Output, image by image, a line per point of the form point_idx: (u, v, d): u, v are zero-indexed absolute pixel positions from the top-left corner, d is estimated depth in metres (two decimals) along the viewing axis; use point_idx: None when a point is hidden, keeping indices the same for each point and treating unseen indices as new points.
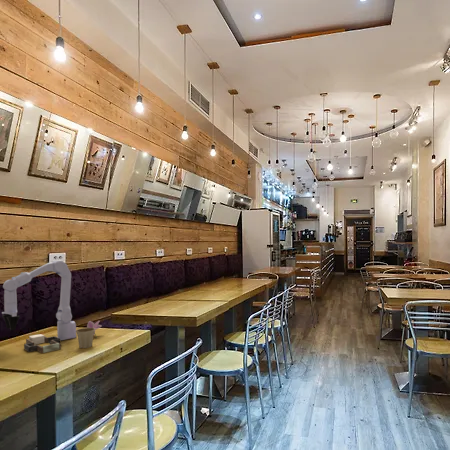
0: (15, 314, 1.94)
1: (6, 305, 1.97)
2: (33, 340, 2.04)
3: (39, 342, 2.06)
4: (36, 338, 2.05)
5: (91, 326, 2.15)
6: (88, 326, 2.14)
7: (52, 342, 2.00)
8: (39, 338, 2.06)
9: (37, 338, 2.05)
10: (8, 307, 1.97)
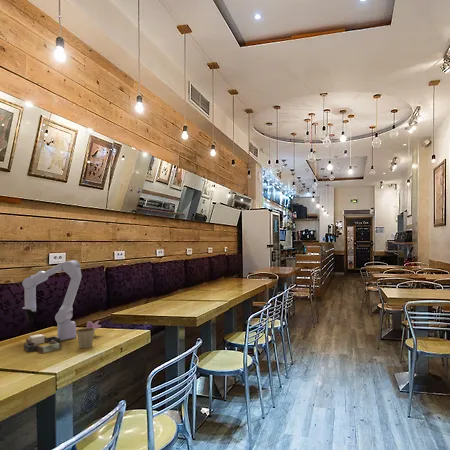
0: (35, 309, 2.12)
1: (26, 301, 2.14)
2: (33, 340, 2.04)
3: (39, 342, 2.06)
4: (36, 338, 2.05)
5: (90, 326, 2.15)
6: (87, 326, 2.14)
7: (52, 342, 2.00)
8: (39, 338, 2.06)
9: (37, 338, 2.05)
10: (28, 303, 2.14)
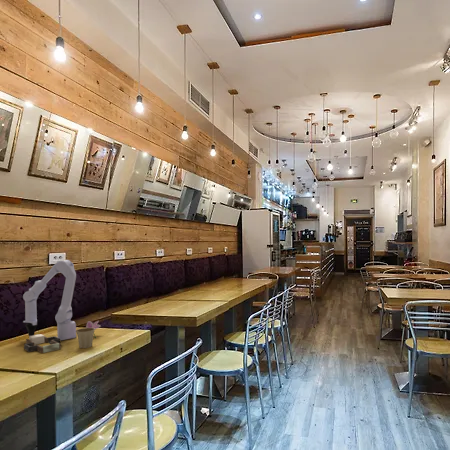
0: (35, 323, 2.11)
1: (27, 314, 2.13)
2: (33, 340, 2.04)
3: (39, 342, 2.06)
4: (36, 338, 2.05)
5: (90, 326, 2.15)
6: (87, 326, 2.14)
7: (52, 342, 2.00)
8: (39, 338, 2.06)
9: (37, 338, 2.05)
10: (29, 316, 2.13)
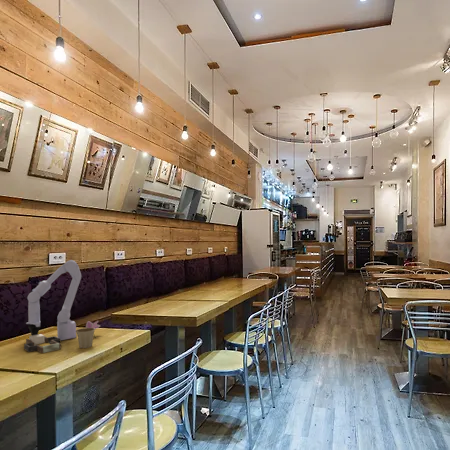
0: (39, 324, 2.06)
1: (30, 316, 2.09)
2: (33, 340, 2.04)
3: (39, 342, 2.06)
4: (36, 338, 2.05)
5: (90, 326, 2.15)
6: (87, 326, 2.14)
7: (52, 342, 2.00)
8: (39, 338, 2.06)
9: (37, 338, 2.05)
10: (32, 318, 2.08)
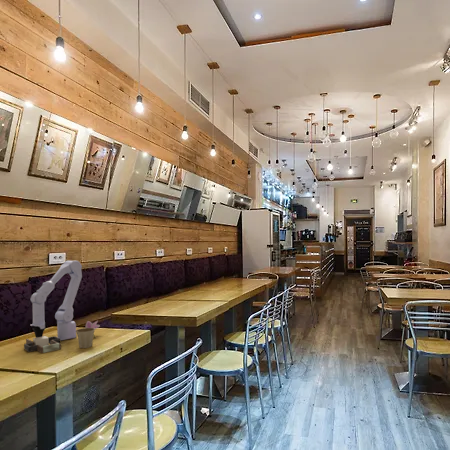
0: (43, 326, 2.00)
1: (34, 317, 2.03)
2: (37, 342, 1.98)
3: (43, 344, 1.99)
4: (40, 340, 1.99)
5: (89, 326, 2.15)
6: (86, 326, 2.14)
7: (52, 342, 2.00)
8: (43, 340, 1.99)
9: (41, 340, 1.99)
10: (36, 319, 2.02)
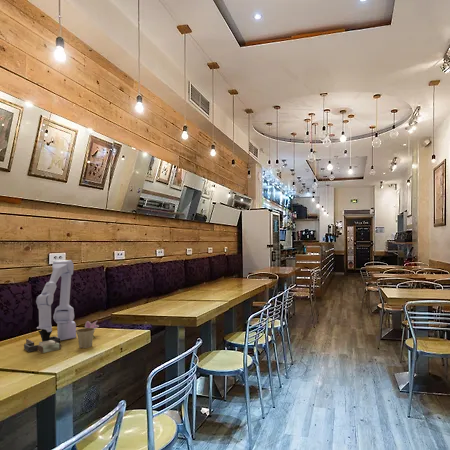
0: (50, 329, 1.92)
1: (41, 320, 1.95)
2: None
3: None
4: (46, 344, 1.90)
5: (89, 326, 2.15)
6: (86, 326, 2.14)
7: None
8: (49, 344, 1.91)
9: (47, 344, 1.91)
10: (43, 322, 1.94)
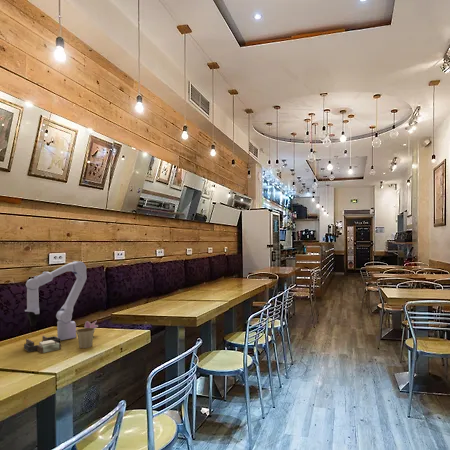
0: (38, 312, 2.02)
1: (29, 303, 2.04)
2: None
3: None
4: (46, 344, 1.90)
5: (88, 326, 2.15)
6: (85, 326, 2.14)
7: None
8: (49, 344, 1.91)
9: (47, 344, 1.91)
10: (31, 305, 2.04)
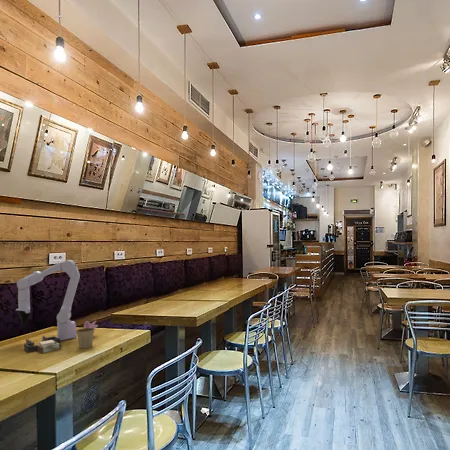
0: (28, 311, 2.07)
1: (20, 302, 2.09)
2: None
3: None
4: (46, 344, 1.90)
5: (88, 326, 2.15)
6: (85, 326, 2.14)
7: None
8: (49, 344, 1.91)
9: (47, 344, 1.91)
10: (22, 304, 2.09)
